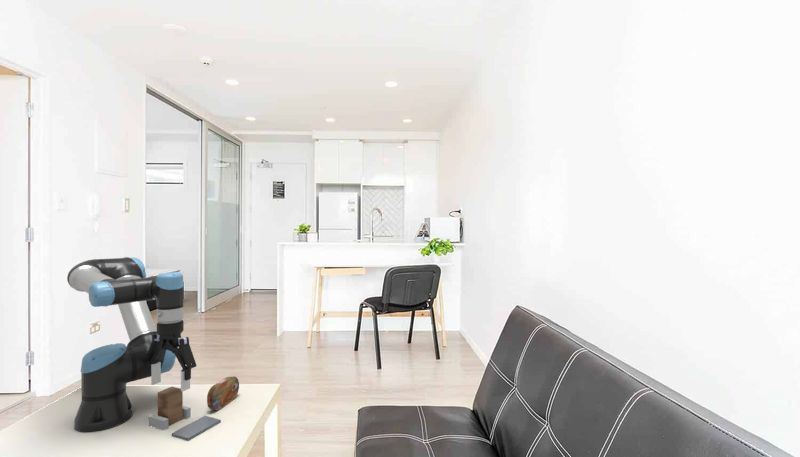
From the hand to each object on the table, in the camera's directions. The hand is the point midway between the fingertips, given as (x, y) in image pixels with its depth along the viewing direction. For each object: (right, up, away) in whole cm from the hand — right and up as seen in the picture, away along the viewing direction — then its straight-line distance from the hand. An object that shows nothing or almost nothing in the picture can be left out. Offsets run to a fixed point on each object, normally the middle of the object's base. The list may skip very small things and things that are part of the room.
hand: (170, 386), depth 128 cm
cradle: (0, -11, 0) cm, 11 cm away
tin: (+11, -12, +13) cm, 21 cm away
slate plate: (+11, -12, -4) cm, 16 cm away
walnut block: (0, -11, 0) cm, 11 cm away
